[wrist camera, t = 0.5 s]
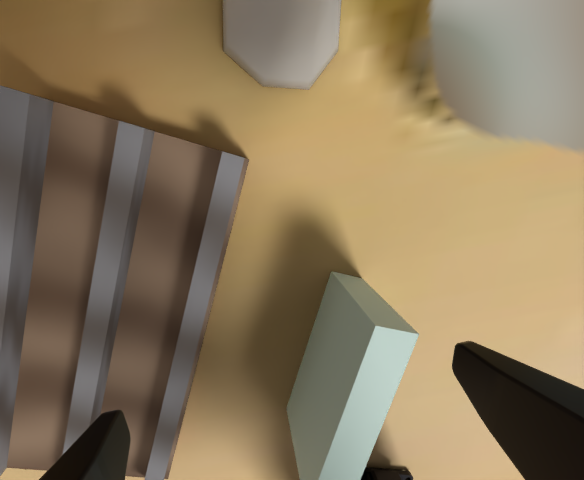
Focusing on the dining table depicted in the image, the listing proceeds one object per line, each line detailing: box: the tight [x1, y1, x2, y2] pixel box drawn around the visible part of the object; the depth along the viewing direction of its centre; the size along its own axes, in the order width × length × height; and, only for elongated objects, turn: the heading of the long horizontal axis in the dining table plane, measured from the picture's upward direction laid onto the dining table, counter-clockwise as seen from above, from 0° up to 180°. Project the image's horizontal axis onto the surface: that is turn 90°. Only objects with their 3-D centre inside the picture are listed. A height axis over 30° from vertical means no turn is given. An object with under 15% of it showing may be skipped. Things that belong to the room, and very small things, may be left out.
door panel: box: [286, 271, 419, 480], centre depth 21 cm, size 12×2×8 cm, turn 164°
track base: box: [0, 85, 249, 480], centre depth 20 cm, size 24×12×4 cm, turn 164°
